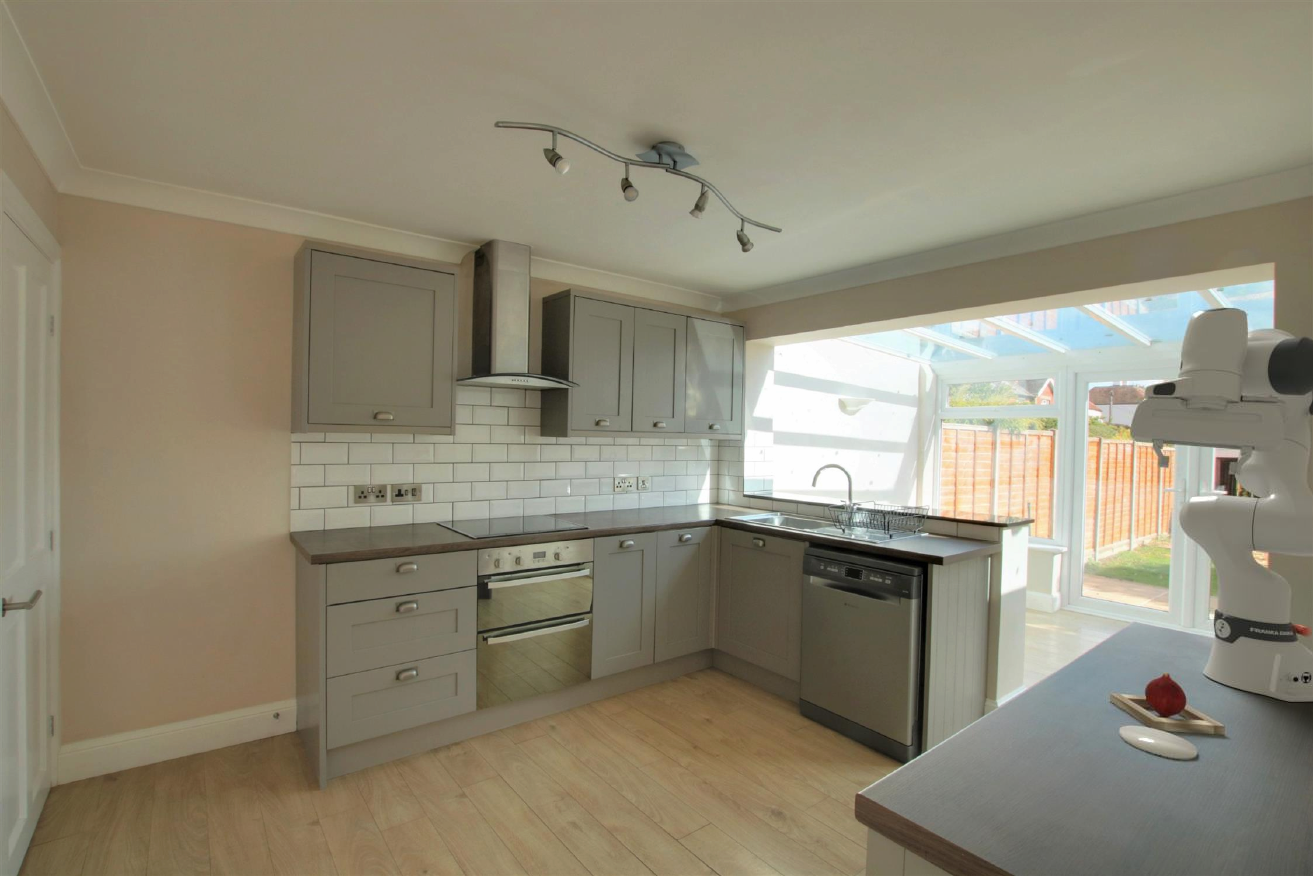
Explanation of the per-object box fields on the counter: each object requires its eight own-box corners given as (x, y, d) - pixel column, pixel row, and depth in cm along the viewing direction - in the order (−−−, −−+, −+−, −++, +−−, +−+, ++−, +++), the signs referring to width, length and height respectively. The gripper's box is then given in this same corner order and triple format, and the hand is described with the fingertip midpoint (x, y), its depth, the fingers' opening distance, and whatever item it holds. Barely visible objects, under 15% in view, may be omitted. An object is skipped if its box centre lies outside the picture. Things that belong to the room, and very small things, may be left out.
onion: (1192, 726, 111) (1195, 681, 111) (1155, 722, 112) (1157, 677, 112) (1172, 712, 116) (1175, 669, 116) (1137, 708, 118) (1139, 665, 117)
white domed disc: (1165, 731, 108) (1166, 727, 108) (1214, 761, 98) (1214, 758, 98) (1105, 727, 109) (1105, 723, 109) (1147, 756, 99) (1147, 753, 99)
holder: (1173, 705, 120) (1173, 697, 120) (1224, 734, 108) (1224, 726, 108) (1109, 701, 120) (1110, 693, 120) (1154, 729, 109) (1154, 721, 109)
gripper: (1288, 403, 107) (1279, 482, 105) (1137, 397, 121) (1127, 467, 119) (1292, 391, 103) (1283, 473, 100) (1135, 386, 116) (1124, 458, 114)
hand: (1197, 470), depth 110 cm, fingers open, 8 cm apart
